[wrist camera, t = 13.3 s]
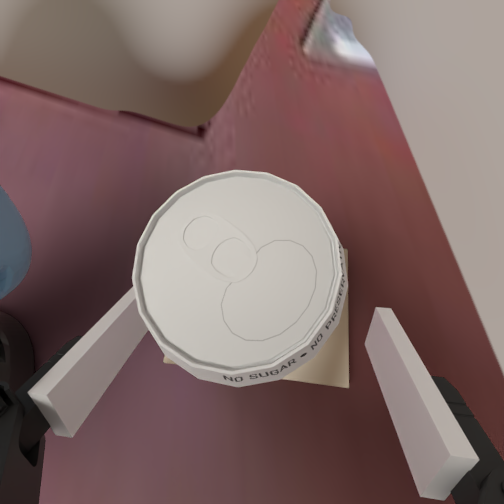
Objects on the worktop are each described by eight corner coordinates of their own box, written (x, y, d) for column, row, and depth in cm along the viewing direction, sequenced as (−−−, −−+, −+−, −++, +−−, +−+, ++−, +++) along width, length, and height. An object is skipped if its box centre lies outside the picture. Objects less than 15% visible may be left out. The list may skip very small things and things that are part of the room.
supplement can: (321, 297, 22) (411, 237, 8) (265, 373, 20) (246, 473, 6) (253, 245, 24) (225, 123, 10) (197, 311, 22) (67, 278, 8)
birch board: (172, 359, 23) (162, 362, 21) (194, 243, 27) (188, 237, 25) (342, 383, 21) (349, 388, 20) (342, 255, 25) (347, 249, 23)
